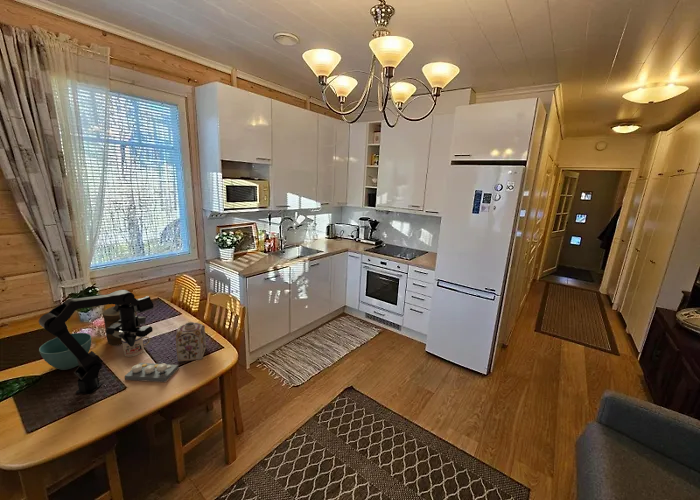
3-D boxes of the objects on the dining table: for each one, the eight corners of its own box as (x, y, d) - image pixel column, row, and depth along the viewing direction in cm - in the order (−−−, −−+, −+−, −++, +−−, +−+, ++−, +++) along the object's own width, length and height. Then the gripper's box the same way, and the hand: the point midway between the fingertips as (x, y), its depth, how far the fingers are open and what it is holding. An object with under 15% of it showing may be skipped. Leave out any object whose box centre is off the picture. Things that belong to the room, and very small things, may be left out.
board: (165, 382, 137) (165, 378, 136) (125, 379, 137) (124, 375, 137) (178, 368, 146) (178, 364, 146) (140, 366, 147) (140, 362, 146)
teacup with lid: (124, 359, 152) (120, 338, 149) (123, 350, 158) (120, 331, 156) (152, 351, 159) (149, 331, 156) (149, 343, 166) (147, 324, 163)
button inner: (138, 376, 138) (137, 369, 137) (130, 375, 138) (129, 369, 138) (144, 370, 142) (144, 364, 141) (136, 370, 142) (135, 364, 141)
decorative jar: (177, 362, 151) (173, 330, 147) (183, 349, 162) (180, 319, 158) (202, 359, 154) (200, 328, 150) (207, 347, 165) (204, 317, 161)
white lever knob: (163, 375, 138) (163, 368, 137) (155, 374, 138) (154, 368, 137) (169, 370, 142) (168, 363, 141) (161, 369, 142) (160, 363, 141)
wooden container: (114, 348, 160) (108, 311, 155) (102, 340, 167) (96, 304, 162) (144, 337, 172) (140, 302, 167) (132, 329, 180) (127, 295, 174)
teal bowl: (101, 361, 149) (97, 339, 146) (52, 382, 134) (47, 358, 131) (86, 350, 158) (82, 329, 155) (38, 367, 142) (33, 345, 140)
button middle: (151, 377, 138) (150, 370, 137) (143, 376, 138) (142, 370, 137) (157, 371, 142) (156, 365, 141) (149, 371, 142) (148, 364, 141)
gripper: (158, 310, 146) (162, 338, 150) (122, 307, 147) (126, 336, 151) (141, 320, 135) (146, 351, 139) (103, 317, 137) (108, 348, 140)
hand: (132, 346), depth 143 cm, fingers closed
